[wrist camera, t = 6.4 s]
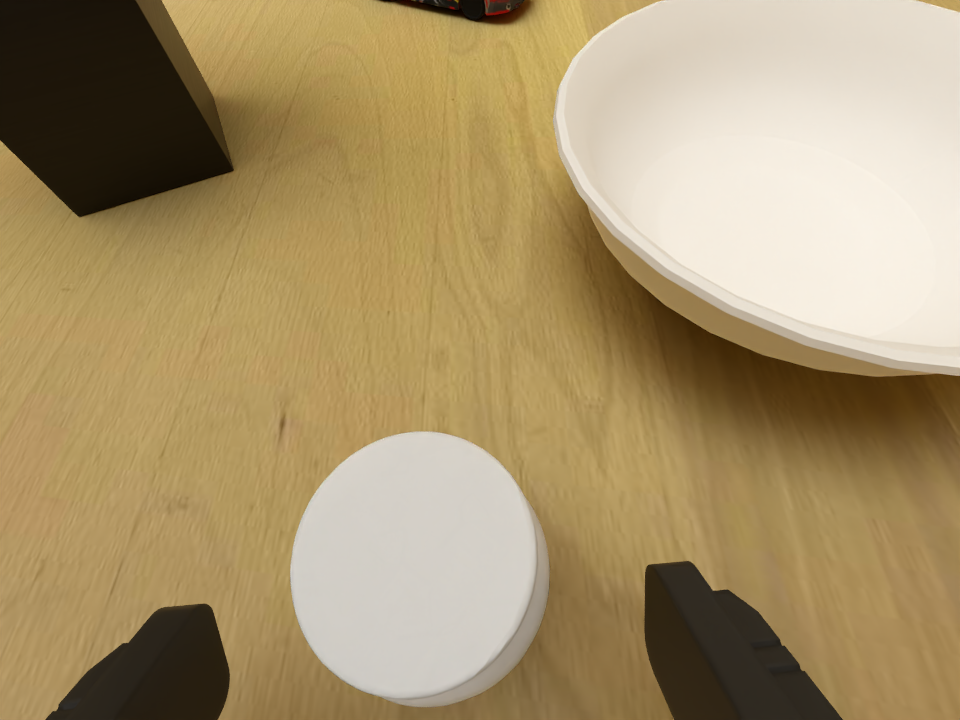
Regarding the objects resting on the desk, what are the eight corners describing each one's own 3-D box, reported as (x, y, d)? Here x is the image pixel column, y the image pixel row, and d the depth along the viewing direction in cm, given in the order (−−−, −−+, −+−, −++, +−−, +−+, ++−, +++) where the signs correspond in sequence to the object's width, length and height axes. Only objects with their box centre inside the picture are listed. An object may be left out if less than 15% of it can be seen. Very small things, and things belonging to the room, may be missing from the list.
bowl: (482, 168, 25) (477, 35, 19) (799, 88, 27) (876, -49, 22) (680, 541, 15) (786, 492, 9) (1140, 361, 18) (1432, 241, 12)
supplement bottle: (521, 502, 16) (540, 395, 9) (545, 666, 13) (601, 713, 6) (381, 518, 16) (279, 425, 8) (381, 687, 13) (239, 761, 6)
